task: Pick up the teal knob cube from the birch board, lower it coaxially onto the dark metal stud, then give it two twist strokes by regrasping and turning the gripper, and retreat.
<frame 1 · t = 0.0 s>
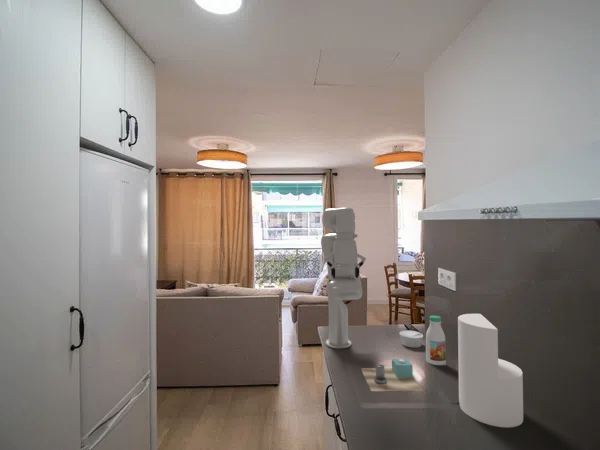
hand: (345, 277, 134), 37 cm above the counter, tool pointing down, fingers open, 9 cm apart
board: (389, 381, 118), on the counter
stud: (380, 384, 116), resting on board
ramekin: (411, 345, 156), on the counter
white stepped round block: (489, 410, 99), on the counter
milk bottle: (435, 364, 133), on the counter
teal knob cube: (402, 373, 122), point 1 cm above the counter, touching board
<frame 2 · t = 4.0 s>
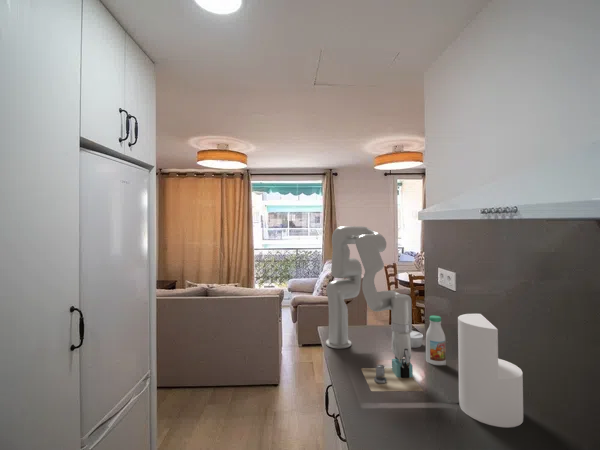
hand: (402, 373, 122), 1 cm above the counter, tool pointing down, fingers closed on teal knob cube, 6 cm apart
teal knob cube: (402, 373, 122), point 1 cm above the counter, touching board, gripper
everything else where it was.
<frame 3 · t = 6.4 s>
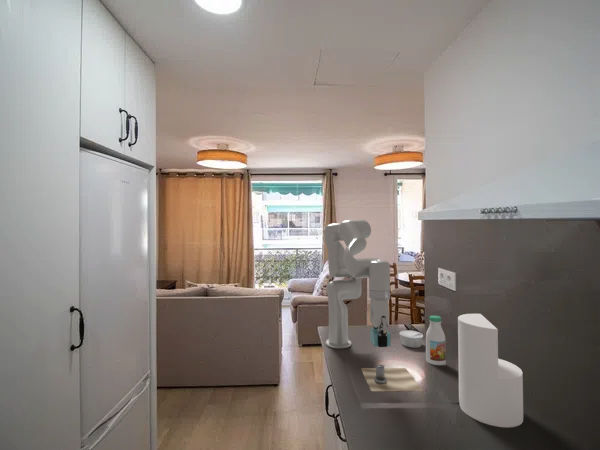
hand: (380, 342, 116), 15 cm above the counter, tool pointing down, fingers closed on teal knob cube, 6 cm apart
teal knob cube: (380, 343, 116), point 15 cm above the counter, touching gripper
everything else where it was.
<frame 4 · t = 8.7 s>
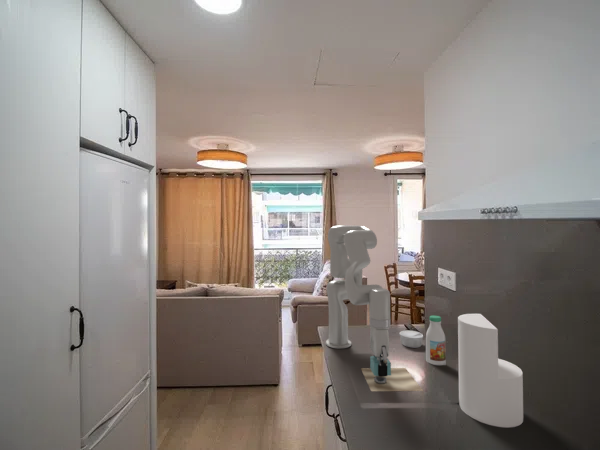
hand: (380, 371, 116), 5 cm above the counter, tool pointing down, fingers closed on teal knob cube, 6 cm apart
teal knob cube: (380, 371, 116), point 5 cm above the counter, touching gripper
everything else where it was.
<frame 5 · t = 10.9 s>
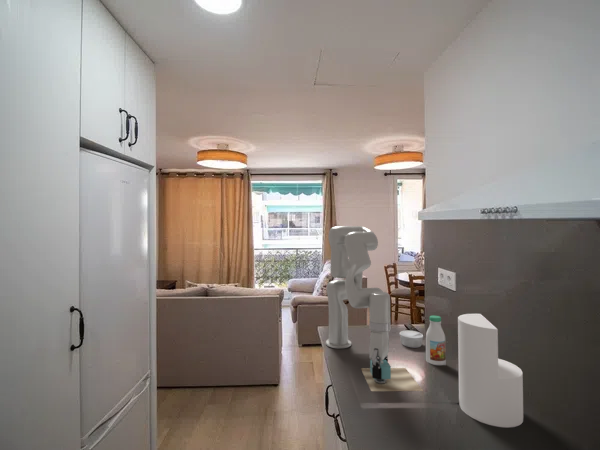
hand: (380, 373, 116), 4 cm above the counter, tool pointing down, fingers closed on teal knob cube, 8 cm apart
teal knob cube: (380, 375, 116), point 3 cm above the counter, touching gripper, stud
everything else where it was.
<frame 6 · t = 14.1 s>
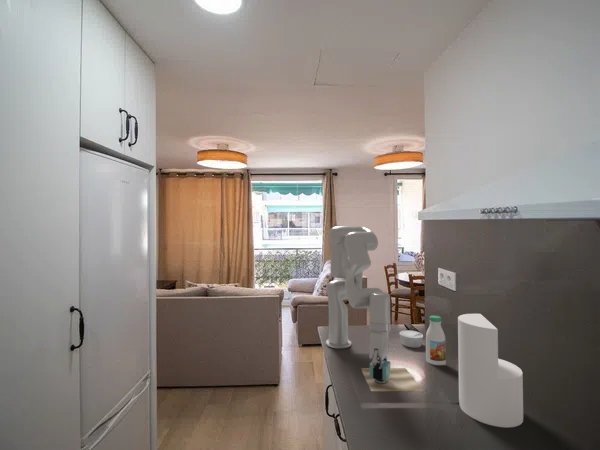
hand: (380, 374, 116), 4 cm above the counter, tool pointing down, fingers closed on teal knob cube, 6 cm apart
teal knob cube: (380, 375, 116), point 3 cm above the counter, touching gripper, stud
everything else where it was.
when the fingers open (5 cm above the counter, at t = 15.3 s): teal knob cube drops 1 cm, resting on stud.
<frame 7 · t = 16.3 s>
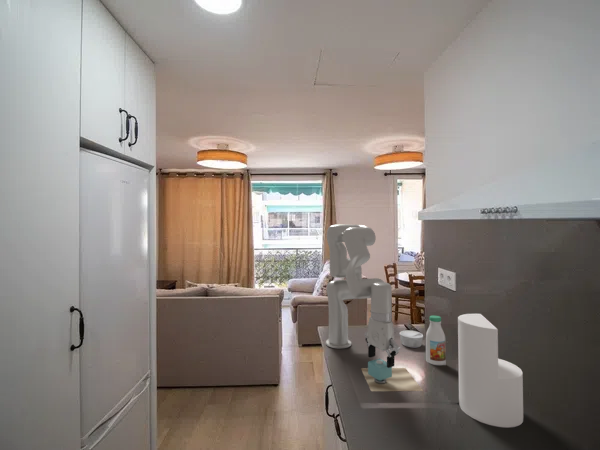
hand: (380, 361, 118), 8 cm above the counter, tool pointing down, fingers open, 9 cm apart
teal knob cube: (379, 375, 116), point 3 cm above the counter, touching stud
everything else where it was.
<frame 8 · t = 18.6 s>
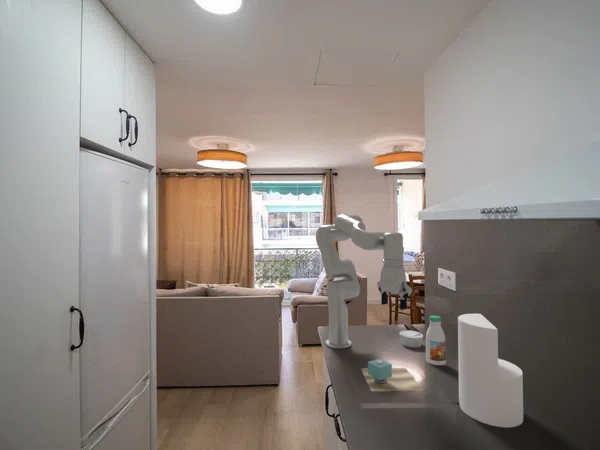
hand: (393, 306, 126), 26 cm above the counter, tool pointing down, fingers open, 9 cm apart
nothing on the counter moved.
at the end: teal knob cube 0.2 cm off-centre on the stud, point 3.4 cm above the stud's base; teal knob cube tilted 0°; the gripper is holding nothing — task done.
